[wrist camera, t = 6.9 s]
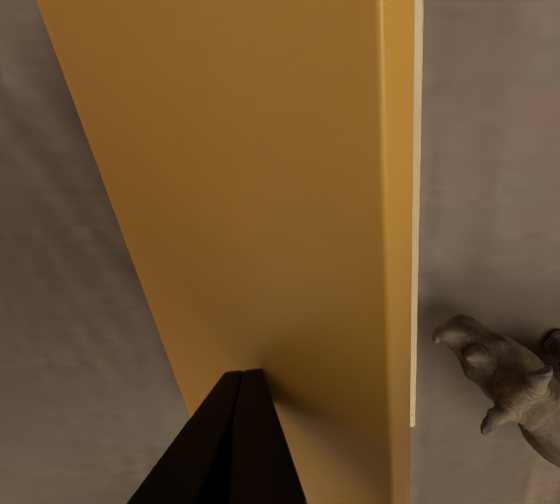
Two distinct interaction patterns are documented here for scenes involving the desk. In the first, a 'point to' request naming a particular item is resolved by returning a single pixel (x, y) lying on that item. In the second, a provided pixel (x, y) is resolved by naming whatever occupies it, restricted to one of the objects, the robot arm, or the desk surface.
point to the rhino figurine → (510, 381)
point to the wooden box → (416, 194)
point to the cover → (266, 206)
